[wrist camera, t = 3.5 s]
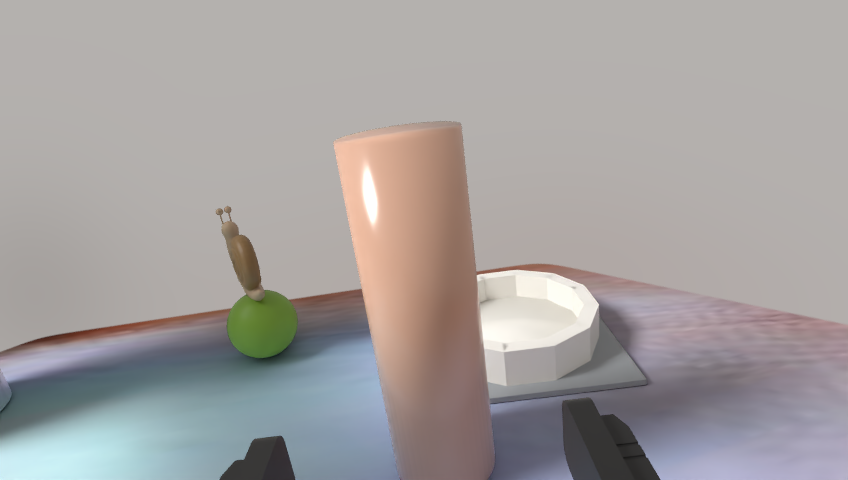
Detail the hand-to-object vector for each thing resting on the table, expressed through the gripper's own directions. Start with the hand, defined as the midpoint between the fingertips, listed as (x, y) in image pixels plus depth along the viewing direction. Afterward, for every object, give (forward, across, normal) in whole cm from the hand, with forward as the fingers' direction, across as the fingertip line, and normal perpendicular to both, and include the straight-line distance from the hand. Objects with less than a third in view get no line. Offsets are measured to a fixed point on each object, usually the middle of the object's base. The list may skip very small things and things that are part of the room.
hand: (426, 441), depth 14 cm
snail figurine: (+24, -14, -11) cm, 30 cm away
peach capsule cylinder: (+10, 0, -10) cm, 15 cm away
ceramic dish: (+21, +6, -10) cm, 24 cm away
